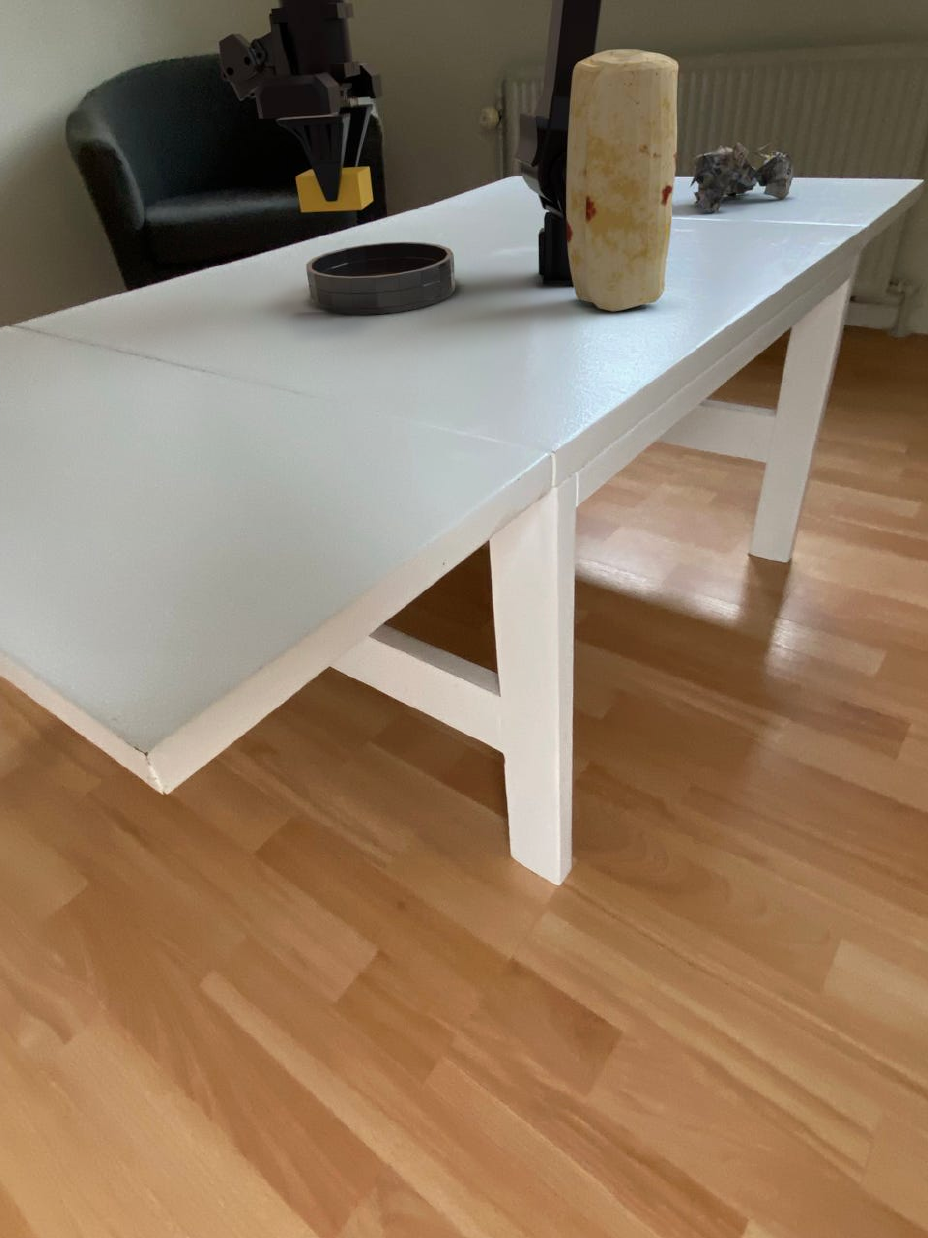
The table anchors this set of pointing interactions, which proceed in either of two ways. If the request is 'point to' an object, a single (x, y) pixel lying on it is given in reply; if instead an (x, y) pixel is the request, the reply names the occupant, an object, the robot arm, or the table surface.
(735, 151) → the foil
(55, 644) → the table surface
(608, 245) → the food model
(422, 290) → the pan
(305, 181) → the sponge
